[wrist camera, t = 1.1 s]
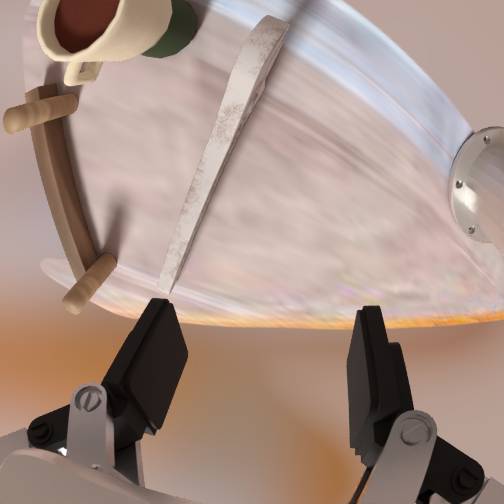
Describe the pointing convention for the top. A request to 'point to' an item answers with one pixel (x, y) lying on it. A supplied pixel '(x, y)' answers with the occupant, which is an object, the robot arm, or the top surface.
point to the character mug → (111, 32)
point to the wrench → (224, 137)
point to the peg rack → (61, 188)
